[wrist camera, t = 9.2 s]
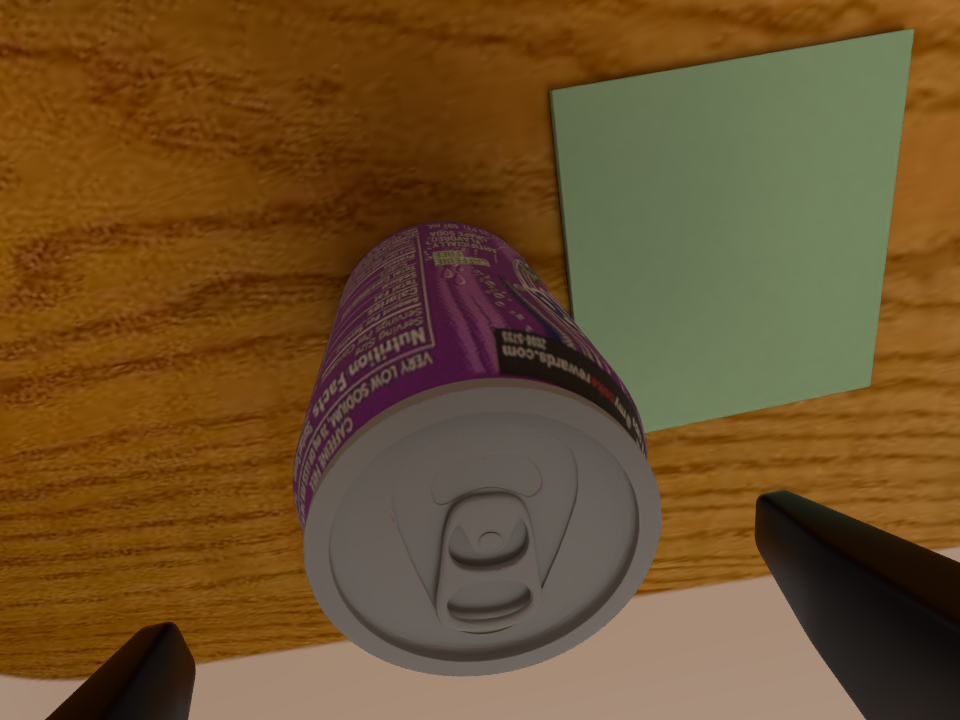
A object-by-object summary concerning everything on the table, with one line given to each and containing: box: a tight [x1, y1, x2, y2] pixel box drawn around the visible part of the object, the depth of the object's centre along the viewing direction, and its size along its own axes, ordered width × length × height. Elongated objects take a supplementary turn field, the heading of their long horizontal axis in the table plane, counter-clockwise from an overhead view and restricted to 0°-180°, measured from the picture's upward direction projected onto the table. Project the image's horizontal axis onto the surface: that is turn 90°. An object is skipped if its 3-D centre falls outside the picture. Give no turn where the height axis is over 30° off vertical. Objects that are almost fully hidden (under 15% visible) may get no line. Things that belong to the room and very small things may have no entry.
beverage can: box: [293, 222, 661, 676], centre depth 15 cm, size 7×7×12 cm
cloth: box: [549, 28, 914, 433], centre depth 21 cm, size 13×12×1 cm
